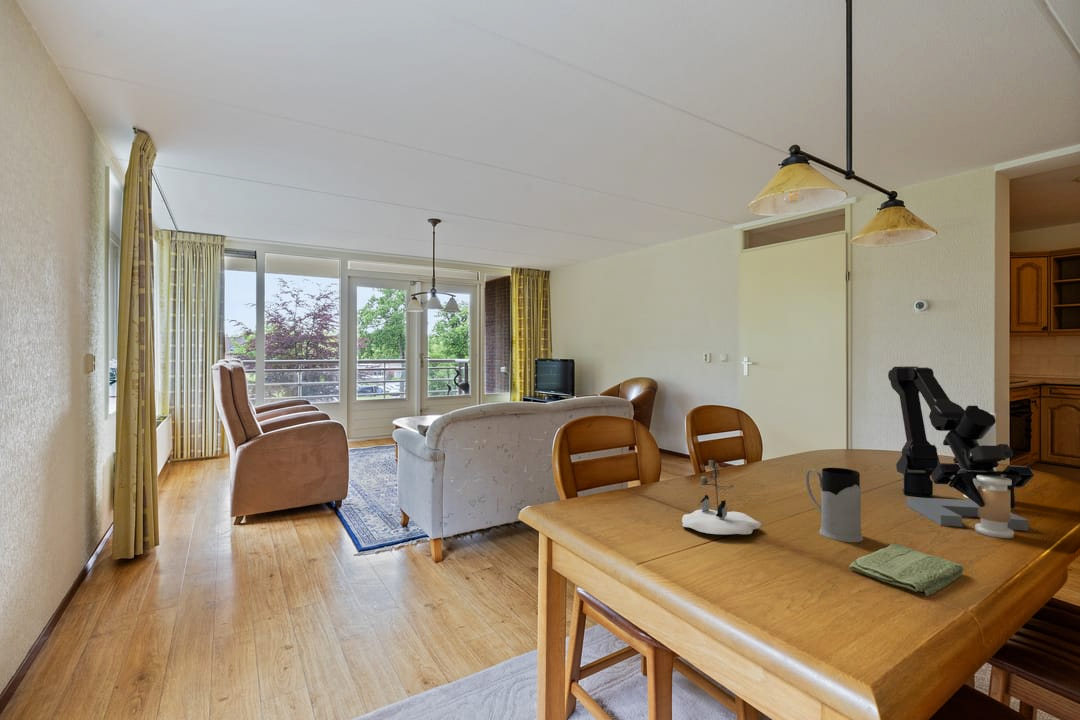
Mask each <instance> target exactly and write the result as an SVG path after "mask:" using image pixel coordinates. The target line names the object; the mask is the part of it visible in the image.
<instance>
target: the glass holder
mask: <svg viewBox="0 0 1080 720" xmlns="http://www.w3.org/2000/svg"><path fill="white" fill-rule="evenodd" d="M812 471H813V472H815V473H816V475H817V477H818V481H819V482H818V483H819V487H820V489H821V493H820V495H821V496H820V498H821V499H820V500H821V501H820V502H821V503H820V504H821V505H819V503H818V502H817V500H816V499H815V497H814V495H813V493H812V490H811V486H810V473H811V472H812ZM860 475H861V473H860V472H859V471H858V470H854V469H850V468H849V469H848V468H844V467H843V468H842V467H823V468H822V469H821V473H820V471H819V470H817V469H814V468H811V469H808V470H807V472H806V474H805V483H806V488H807V491H808V495H809V497H810V499H811V501H812V502H813V504H814V505H815V507H816V508H817V509H818V510H819V513H820V514H821V515H820V517H821V527H820V529H819V531H818V532H819V534H820V535H821V536H823V537H825V538H828V539H830V540H834V541H837V542H844V543H860V542H863V540H864V536H863V535H862V517H861V516H862V501H861V500H862V499H861V498H862V496H861V495H862V491H861V490H862V488H861V486H860V485H861V484H860V483H861V481H860V479H861V476H860Z"/></svg>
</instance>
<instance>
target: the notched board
mask: <svg viewBox="0 0 1080 720" xmlns="http://www.w3.org/2000/svg"><path fill="white" fill-rule="evenodd" d="M906 507H907V508H909V509H911V510H913V511H915V512H916V513H918V514H920V515H922V516H924V517H925V518H927V519H929V520H930V521H932V522H934V523H936V524H938V525H939V526H944V527H945V526H946V527H947V526H948V527H963V517H967V518H968V517H969V518H971V517H972V518H979V517H978V504H976V503H975V502H974V501H972V500H971V499H955V498H953V499H951V498H935V497H933V498H932V497H931V498H929V497H917V496H914V497H912V496H907V497H906ZM1029 526H1030V525H1029V520H1028V519H1027V518H1024V517H1021V516H1020V515H1017V514H1015V513H1012V512H1011V521H1010V522H1008V528H1009V529H1012V530H1013V531H1026V532H1027V531H1029Z"/></svg>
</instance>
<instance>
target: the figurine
mask: <svg viewBox="0 0 1080 720" xmlns="http://www.w3.org/2000/svg"><path fill="white" fill-rule="evenodd" d="M708 468H711V469H713V471H714V473H712V472H710V473H709V478H710V480H709V481H708V477H707V476H701V478H700V479H701V483H700V485H701V486H715V487H714V488H715V495H716V499H715V500H716V510H714V509H711V504H710V498H709V495H707V494H705V495H704V497H703V498H702V499H701V500H700V502H699V504H698V505H697V506H700V509H697V510H694V511H692V512H691V513H685V514H684V515H682V518H681V523H682V527H683V528H690V529H693V530H695V531H697V532H700V533H705V534H711V535H737V534H738V535H750V534H751V535H752V533H753V531H754V530H757V529H759V528H760V527H761V526H762V523H761V522H760V521H758V520H755V519H754V518H752V517H751V516H749V515H748V514H746V513H743V512H740V511H728V509H727V503H726V502H727V501H726V499H725V500H721V501H720V504H719V497H718V496H719V495H718V489H720V490H722V488H723V486H720V485H719V486H718V482H717V481H718V480H717V478H718V477H719V476H718V475H720V471H719V470H718V468H719V463H716V461H715V460H713V459H712V460H711V459H710V460H708ZM712 480H713V481H714V483H708V482H711V481H712ZM725 488H726V490H728V489H731V488H735V486H734V484H730V485H729V486H727V485H726V486H725Z"/></svg>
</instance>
